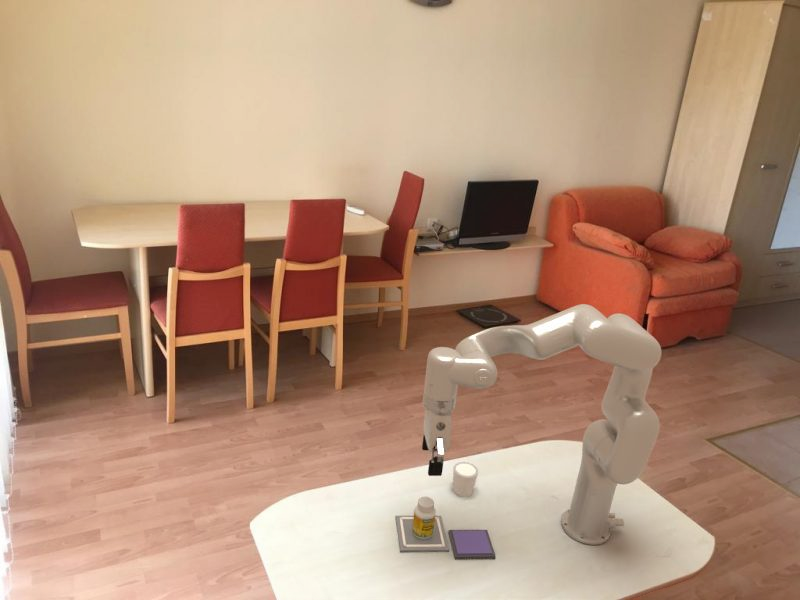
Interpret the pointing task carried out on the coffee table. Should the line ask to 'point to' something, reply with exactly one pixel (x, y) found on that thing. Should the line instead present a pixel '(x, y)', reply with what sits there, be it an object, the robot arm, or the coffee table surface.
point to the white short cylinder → (464, 478)
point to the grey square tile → (414, 544)
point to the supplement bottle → (424, 518)
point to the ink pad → (471, 544)
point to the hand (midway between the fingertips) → (431, 462)
